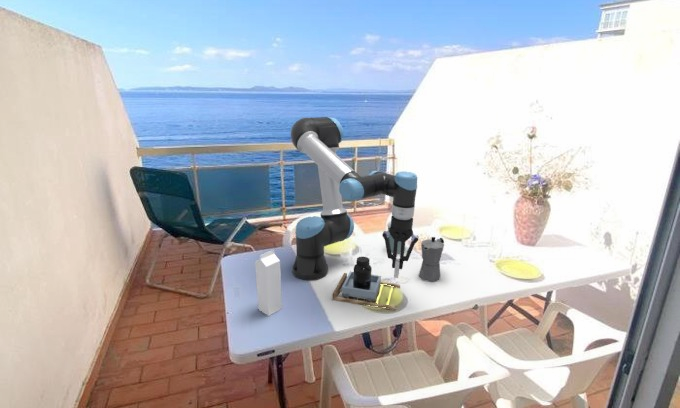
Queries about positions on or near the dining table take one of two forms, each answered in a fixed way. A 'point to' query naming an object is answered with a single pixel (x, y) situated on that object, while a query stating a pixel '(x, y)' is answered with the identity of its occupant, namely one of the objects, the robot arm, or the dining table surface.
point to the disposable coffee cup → (393, 241)
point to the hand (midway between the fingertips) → (396, 275)
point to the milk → (268, 283)
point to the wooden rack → (355, 301)
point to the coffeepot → (431, 259)
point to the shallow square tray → (361, 293)
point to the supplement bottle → (362, 274)
